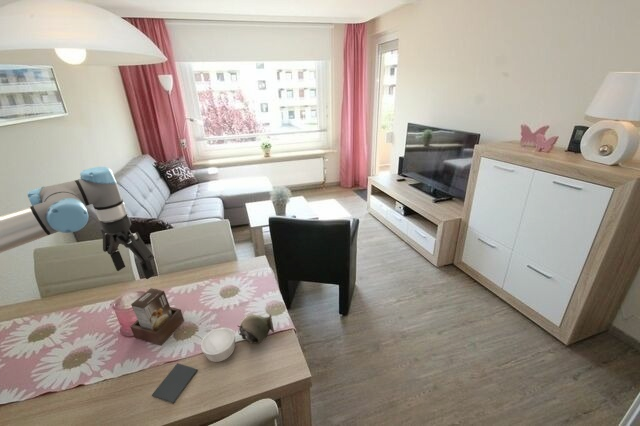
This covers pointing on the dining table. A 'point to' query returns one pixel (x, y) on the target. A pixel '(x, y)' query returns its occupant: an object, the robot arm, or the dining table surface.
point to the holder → (162, 332)
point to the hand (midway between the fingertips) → (135, 272)
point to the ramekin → (218, 344)
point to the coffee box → (152, 309)
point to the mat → (174, 383)
